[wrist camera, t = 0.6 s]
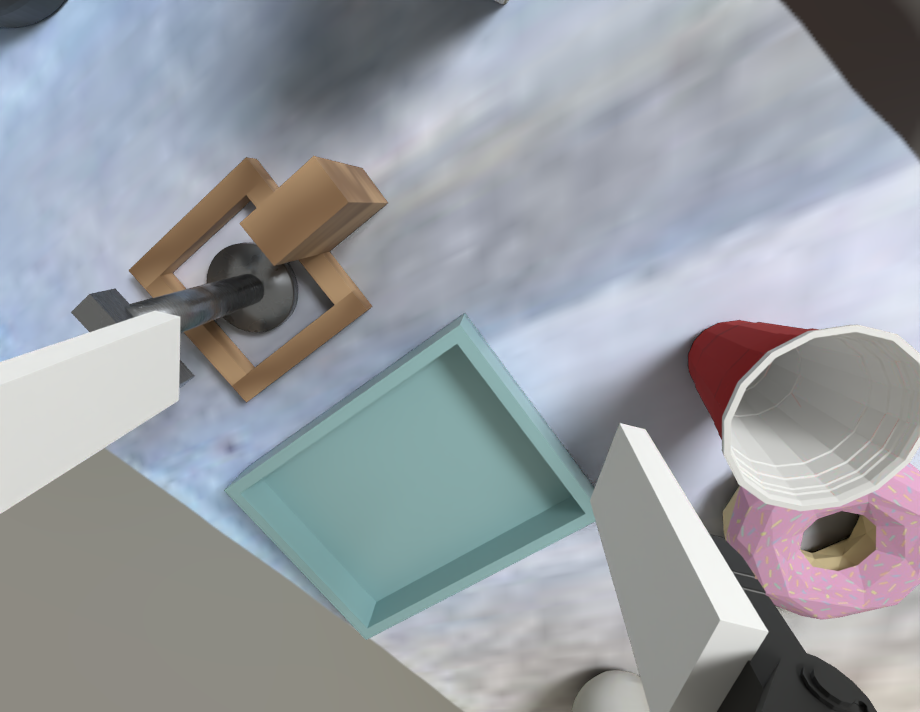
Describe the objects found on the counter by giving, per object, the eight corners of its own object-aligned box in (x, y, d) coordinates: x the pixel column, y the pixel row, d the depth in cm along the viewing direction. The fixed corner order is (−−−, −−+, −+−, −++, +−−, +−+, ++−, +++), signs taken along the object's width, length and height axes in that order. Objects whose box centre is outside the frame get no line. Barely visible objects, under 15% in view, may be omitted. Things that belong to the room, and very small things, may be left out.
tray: (247, 466, 43) (224, 490, 39) (464, 313, 37) (460, 324, 33) (377, 606, 47) (366, 640, 43) (595, 489, 40) (603, 517, 37)
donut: (673, 512, 40) (695, 553, 36) (826, 391, 36) (874, 419, 31) (794, 613, 42) (830, 664, 38) (953, 509, 38) (1017, 553, 33)
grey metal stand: (197, 277, 38) (18, 318, 24) (256, 223, 36) (99, 235, 22) (259, 349, 39) (124, 428, 25) (319, 301, 37) (209, 358, 24)
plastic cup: (786, 426, 37) (909, 524, 26) (645, 416, 38) (704, 507, 26) (824, 289, 33) (985, 333, 22) (668, 282, 34) (747, 320, 23)
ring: (142, 268, 38) (37, 286, 30) (314, 103, 33) (247, 68, 24) (255, 395, 41) (188, 445, 32) (431, 261, 36) (407, 279, 27)
